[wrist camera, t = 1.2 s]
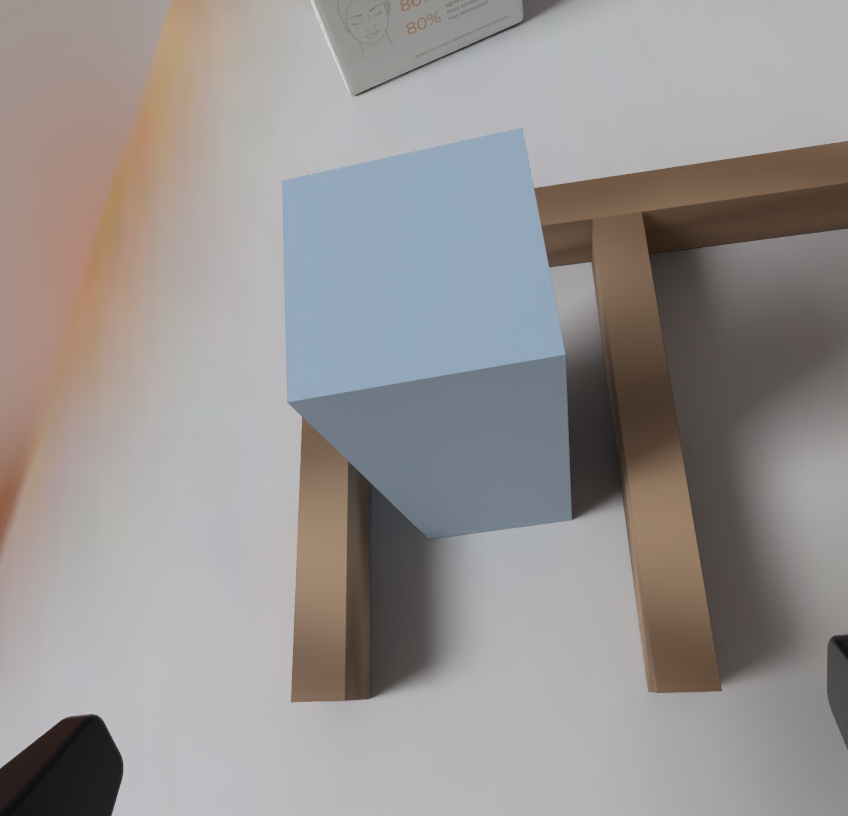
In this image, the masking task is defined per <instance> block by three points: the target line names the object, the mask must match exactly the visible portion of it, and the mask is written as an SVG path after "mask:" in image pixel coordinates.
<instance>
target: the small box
mask: <svg viewBox="0 0 848 816" xmlns="http://www.w3.org/2000/svg"><path fill="white" fill-rule="evenodd" d="M310 1H311V4H312V6H313V9H314V11H315V14H316V16H317V19H318V21H319V23H320V26H321V28H322V31H323V33H324V35H325V38H326V40H327V43H328V45H329V47H330V50H331V52H332V54H333V57H334V59H335V61H336V64H337V66H338V68H339V70H340V73H341V75H342V77H343V80H344V82H345V84H346V86H347V89H348V91H349V93H350V94H351V95H356V94H358V93H361V92H363V91H365V90H367V89H369V88H372V87H374V86H376V85H379V84H381V83H383V82H386V81H388V80H390V79H392V78H395V77H397V76H399V75H401V74H404V73H406V72H408V71H411V70H413V69H415V68H417V67H420V66H422V65H424V64H426V63H429V62H431V61H433V60H436V59H438V58H440V57H443V56H445V55H447V54H449V53H452V52H454V51H456V50H458V49H461V48H463V47H465V46H468V45H470V44H472V43H474V42H477V41H479V40H481V39H483V38H485V37H488V36H490V35H492V34H494V33H497V32H499V31H501V30H503V29H506V28H508V27H510V26H513V25H515V24H517V23H519V22H521V21H522V20H523V17H524V15H523V2H522V0H310Z"/></svg>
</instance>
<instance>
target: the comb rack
mask: <svg viewBox="0 0 848 816" xmlns="http://www.w3.org/2000/svg"><path fill="white" fill-rule="evenodd" d="M534 191H535V196H536V201H537V207H538V212H539V217H540V223H541V228H542V233H543V238H544V244H545V249H546V254H547V259H548V265H549V267H552V266H559V265H567V264H575V263H582V262H590V261H592V269H593V276H594V284H595V291H596V299H597V307H598V314H599V322H600V329H601V337H602V344H603V352H604V360H605V367H606V375H607V382H608V390H609V397H610V405H611V413H612V420H613V428H614V435H615V443H616V450H617V458H618V466H619V473H620V481H621V488H622V496H623V503H624V511H625V519H626V526H627V534H628V541H629V549H630V557H631V564H632V572H633V579H634V587H635V594H636V602H637V610H638V617H639V625H640V632H641V640H642V647H643V655H644V663H645V670H646V678H647V685H648V692H655V693H668V692H707V691H722V689H721V683H720V677H719V671H718V665H717V659H716V653H715V647H714V641H713V635H712V629H711V623H710V617H709V611H708V605H707V600H706V594H705V588H704V582H703V576H702V570H701V564H700V558H699V552H698V546H697V540H696V534H695V528H694V522H693V516H692V510H691V504H690V498H689V492H688V486H687V480H686V474H685V468H684V462H683V456H682V450H681V444H680V438H679V432H678V426H677V420H676V414H675V408H674V402H673V396H672V390H671V384H670V378H669V372H668V367H667V361H666V355H665V349H664V343H663V337H662V331H661V325H660V319H659V313H658V307H657V301H656V295H655V289H654V283H653V277H652V271H651V265H650V259H649V254H651V253H659V252H667V251H674V250H682V249H690V248H697V247H705V246H713V245H720V244H728V243H736V242H743V241H751V240H759V239H766V238H774V237H782V236H789V235H797V234H805V233H812V232H820V231H828V230H835V229H843V228H848V141H845V142H839V143H832V144H825V145H819V146H812V147H805V148H799V149H792V150H786V151H779V152H772V153H766V154H759V155H752V156H746V157H739V158H732V159H726V160H719V161H712V162H706V163H699V164H692V165H686V166H679V167H672V168H666V169H659V170H652V171H646V172H639V173H632V174H626V175H619V176H613V177H606V178H599V179H593V180H586V181H579V182H573V183H566V184H559V185H553V186H546V187H539V188H534ZM361 699H370V482H369V481H368V480H367V479H366V478H365V477H364V476H363V475H362V474H361V473H360V472H359V471H358V470H357V469H356V468H355V467H354V466H353V465H352V464H351V463H350V462H349V461H348V460H347V459H345V458H344V457H343V456H342V455H341V454H340V453H339V452H338V451H337V450H336V449H335V448H334V447H333V446H332V445H331V444H330V443H329V442H328V441H327V440H326V439H325V438H324V437H323V436H322V435H321V434H320V433H319V432H318V431H317V430H316V429H315V428H314V427H312V426H311V425H310V424H309V423H308V422H307V421H306V420H305V419H304V418H303V417H302V441H301V466H300V491H299V516H298V542H297V567H296V592H295V617H294V643H293V668H292V693H291V702H312V701H347V700H361Z"/></svg>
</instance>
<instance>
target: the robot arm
mask: <svg viewBox="0 0 848 816" xmlns="http://www.w3.org/2000/svg"><path fill="white" fill-rule="evenodd" d="M827 694H828V700H829V704H830V707H831V710H832V713H833V716H834V718H835V720H836V723H837V725H838V728H839V730H840V732H841V735H842V737H843V739H844V742H845V744H846V746H847V749H848V634H846V635H836V636H834V637H832V638H831V639H830V640H829V643H828V661H827ZM122 776H123V760H122V757H121V754H120V752H119V750H118V748H117V746H116V744H115V742H114V741H113V739H112V737H111V735H110V733H109V731H108V729H107V727H106V725H105V723H104V721H103V720H102V719H101V718H100V717H99V716H97V715H94V714H89V715H80V716H71V717H67V718H65V719H63V720H61V721H60V722H59V723H57V724H56V725H55V726H54V727H52V728H51V729H50V730H49V731H47V732H46V733H45V734H44V735H42V736H41V737H40V738H38V739H37V740H36V741H35V742H33V743H32V744H31V745H30V746H28V747H27V748H26V749H25V750H23V751H22V752H21V753H19V754H18V755H17V756H16V757H14V758H13V759H12V760H11V761H9V762H8V763H7V764H6V765H4V766H3V767H2V768H1V769H0V816H111V815H112V812H113V808H114V805H115V802H116V798H117V795H118V791H119V788H120V784H121V781H122Z"/></svg>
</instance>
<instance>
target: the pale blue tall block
mask: <svg viewBox="0 0 848 816" xmlns="http://www.w3.org/2000/svg"><path fill="white" fill-rule="evenodd" d="M282 190H283V233H284V276H285V318H286V361H287V402H288V403H289V404H290V405H291V406H292V407H293V408H294V409H295V410H296V411H297V412H298V413H299V414H300V415H301V416H302V417H303V418H304V419H305V420H306V421H307V422H308V423H309V424H310V425H311V426H312V427H314V428H315V429H316V430H317V431H318V432H319V433H320V434H321V435H322V436H323V437H324V438H325V439H326V440H327V441H328V442H329V443H330V444H331V445H332V446H333V447H334V448H335V449H336V450H337V451H338V452H339V453H340V454H341V455H342V456H343V457H344V458H345V459H347V460H348V461H349V462H350V463H351V464H352V465H353V466H354V467H355V468H356V469H357V470H358V471H359V472H360V473H361V474H362V475H363V476H364V477H365V478H366V479H367V480H368V481H369V482H370V483H371V484H372V485H373V486H374V487H375V488H376V489H377V490H378V491H380V492H381V493H382V494H383V495H384V496H385V497H386V498H387V499H388V500H389V501H390V502H391V503H392V504H393V505H394V506H395V507H396V508H397V509H398V510H399V511H400V512H401V513H402V514H403V515H404V516H405V517H406V518H407V519H408V520H409V521H410V522H412V523H413V524H414V525H415V526H416V527H417V528H418V529H419V530H420V531H421V532H422V533H423V534H424V535H425V536H426V537H427V538H428V539H436V538H444V537H451V536H458V535H465V534H473V533H480V532H487V531H495V530H502V529H509V528H517V527H524V526H531V525H539V524H546V523H553V522H561V521H568V520H572V510H571V484H570V457H569V431H568V404H567V378H566V354H565V349H564V343H563V338H562V333H561V328H560V322H559V317H558V312H557V307H556V301H555V296H554V291H553V286H552V280H551V275H550V270H549V265H548V259H547V254H546V249H545V244H544V238H543V233H542V228H541V223H540V217H539V212H538V207H537V201H536V196H535V191H534V186H533V180H532V175H531V170H530V165H529V159H528V154H527V149H526V144H525V138H524V133H523V128H520V129H515V130H511V131H506V132H502V133H497V134H493V135H488V136H484V137H479V138H475V139H470V140H466V141H461V142H457V143H452V144H448V145H443V146H438V147H434V148H429V149H425V150H420V151H416V152H411V153H407V154H402V155H398V156H393V157H389V158H384V159H380V160H375V161H371V162H366V163H361V164H357V165H352V166H348V167H343V168H339V169H334V170H330V171H325V172H321V173H316V174H312V175H307V176H303V177H298V178H294V179H289V180H284V181H282Z"/></svg>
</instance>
